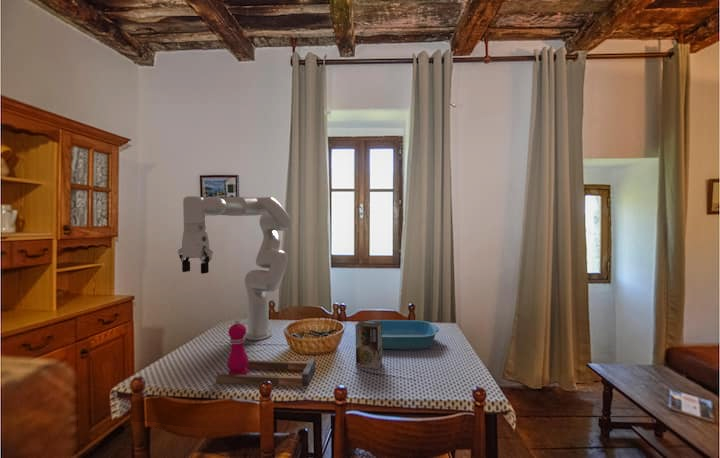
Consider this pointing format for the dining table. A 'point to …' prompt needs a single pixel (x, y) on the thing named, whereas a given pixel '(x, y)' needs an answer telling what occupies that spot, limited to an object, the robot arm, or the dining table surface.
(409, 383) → the dining table surface
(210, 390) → the dining table surface
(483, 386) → the dining table surface
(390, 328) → the casserole dish
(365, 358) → the coffee box
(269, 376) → the guide channel
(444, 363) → the dining table surface
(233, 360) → the pepper mill
